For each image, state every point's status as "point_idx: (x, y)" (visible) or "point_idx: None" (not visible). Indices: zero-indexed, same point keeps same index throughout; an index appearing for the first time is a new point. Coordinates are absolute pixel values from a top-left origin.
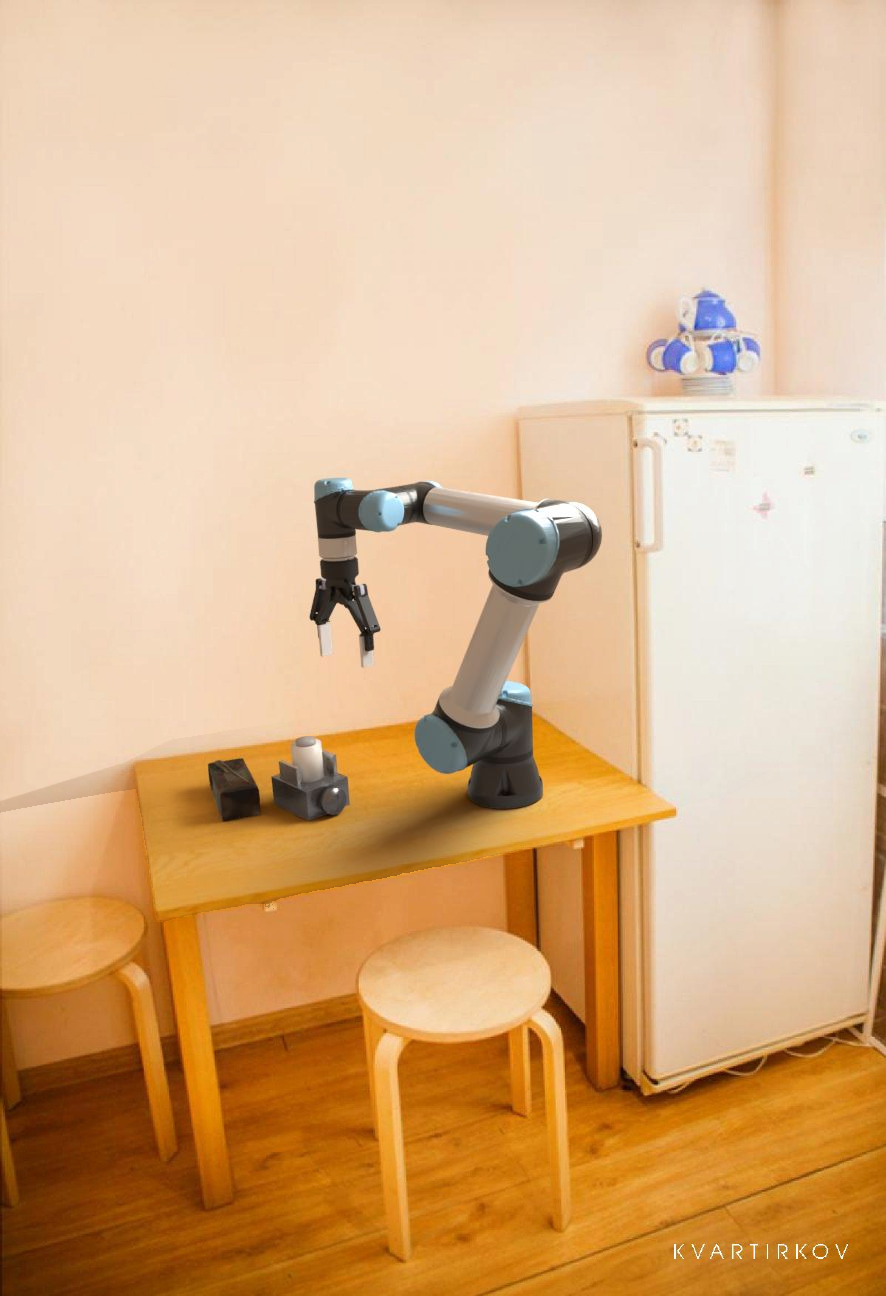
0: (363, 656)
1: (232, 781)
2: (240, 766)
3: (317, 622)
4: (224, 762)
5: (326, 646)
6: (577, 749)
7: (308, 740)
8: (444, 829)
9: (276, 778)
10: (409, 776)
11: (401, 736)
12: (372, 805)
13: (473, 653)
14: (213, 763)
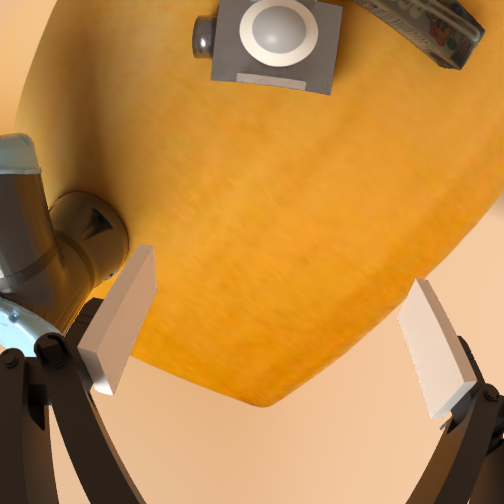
0: (120, 275)
1: None
2: (436, 34)
3: (484, 394)
4: (468, 38)
5: (418, 321)
6: (133, 353)
7: (268, 29)
8: (62, 115)
9: (326, 4)
10: (223, 210)
11: (338, 309)
12: (187, 99)
13: None
14: (477, 29)
